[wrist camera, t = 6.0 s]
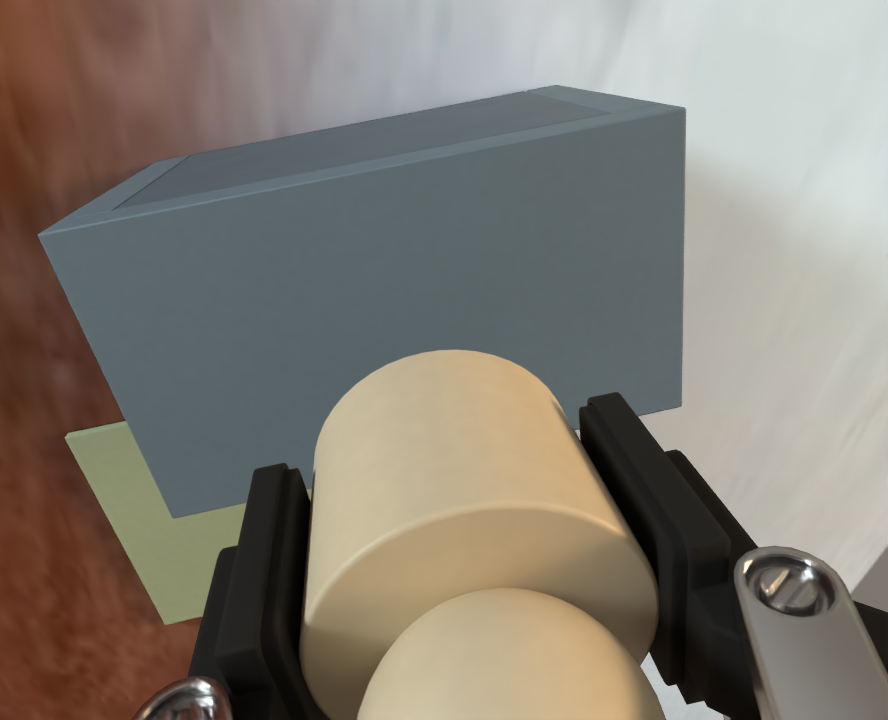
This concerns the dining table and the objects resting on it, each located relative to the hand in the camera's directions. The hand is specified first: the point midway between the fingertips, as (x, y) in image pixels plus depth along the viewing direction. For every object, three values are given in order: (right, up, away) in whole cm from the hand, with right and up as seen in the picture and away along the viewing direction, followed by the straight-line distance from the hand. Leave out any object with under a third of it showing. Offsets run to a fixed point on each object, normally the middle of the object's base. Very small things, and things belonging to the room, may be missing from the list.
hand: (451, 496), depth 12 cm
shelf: (-3, +9, +18) cm, 20 cm away
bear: (0, 0, +1) cm, 1 cm away
